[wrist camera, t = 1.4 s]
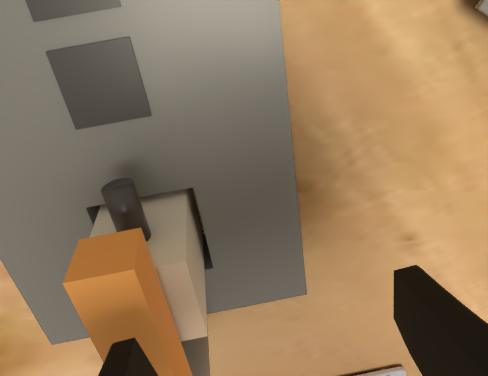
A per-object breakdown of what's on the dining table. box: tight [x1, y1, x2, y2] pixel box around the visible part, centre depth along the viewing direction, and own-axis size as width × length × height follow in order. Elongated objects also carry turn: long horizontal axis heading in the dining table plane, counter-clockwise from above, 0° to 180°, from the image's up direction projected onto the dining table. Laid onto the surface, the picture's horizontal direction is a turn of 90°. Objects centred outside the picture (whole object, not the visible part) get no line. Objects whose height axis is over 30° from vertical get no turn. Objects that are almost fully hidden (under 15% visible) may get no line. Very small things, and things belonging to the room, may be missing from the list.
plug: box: [89, 178, 208, 341], centre depth 18 cm, size 4×6×8 cm, turn 9°
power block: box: [0, 0, 307, 345], centre depth 18 cm, size 14×20×3 cm
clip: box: [63, 228, 210, 376], centre depth 18 cm, size 12×2×10 cm, turn 9°
